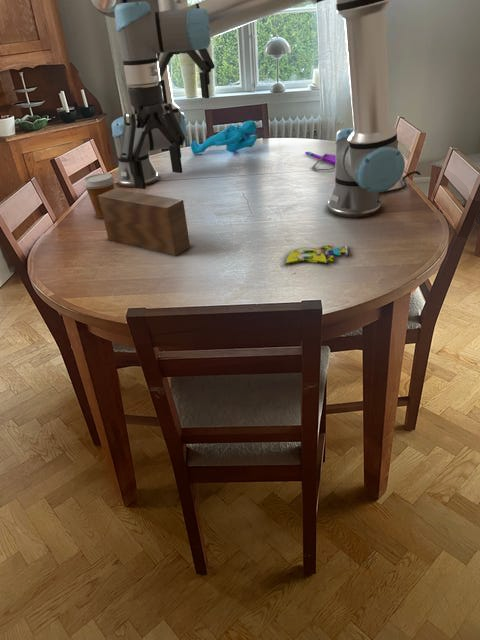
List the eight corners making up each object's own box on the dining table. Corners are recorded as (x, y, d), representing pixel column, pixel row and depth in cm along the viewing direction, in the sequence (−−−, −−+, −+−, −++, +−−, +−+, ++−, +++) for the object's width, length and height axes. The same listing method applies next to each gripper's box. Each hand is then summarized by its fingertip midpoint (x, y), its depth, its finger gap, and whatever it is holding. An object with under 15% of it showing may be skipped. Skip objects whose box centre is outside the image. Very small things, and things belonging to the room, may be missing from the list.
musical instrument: (342, 175, 173) (362, 153, 185) (341, 169, 172) (361, 148, 184) (283, 174, 186) (305, 153, 198) (282, 169, 184) (305, 148, 196)
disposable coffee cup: (85, 218, 153) (75, 181, 146) (103, 208, 160) (94, 172, 154) (110, 221, 150) (101, 182, 143) (127, 210, 157) (119, 173, 150)
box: (108, 239, 137) (97, 195, 130) (123, 232, 141) (114, 188, 134) (175, 256, 125) (167, 207, 118) (190, 246, 129) (183, 200, 122)
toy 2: (349, 261, 112) (285, 261, 114) (349, 264, 113) (285, 265, 115) (347, 243, 120) (287, 244, 123) (346, 246, 121) (287, 247, 123)
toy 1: (195, 134, 218) (257, 114, 208) (203, 157, 223) (264, 139, 213) (184, 143, 204) (250, 123, 194) (193, 168, 209) (257, 149, 199)
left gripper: (137, 16, 115) (152, 111, 127) (222, 8, 127) (229, 95, 138) (123, 17, 120) (139, 108, 132) (206, 9, 132) (214, 93, 144)
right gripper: (115, 94, 97) (135, 197, 108) (192, 77, 113) (202, 167, 125) (90, 94, 100) (112, 193, 112) (168, 77, 117) (180, 165, 129)
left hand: (185, 102), depth 135 cm, fingers open, 13 cm apart
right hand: (159, 180), depth 118 cm, fingers open, 13 cm apart
